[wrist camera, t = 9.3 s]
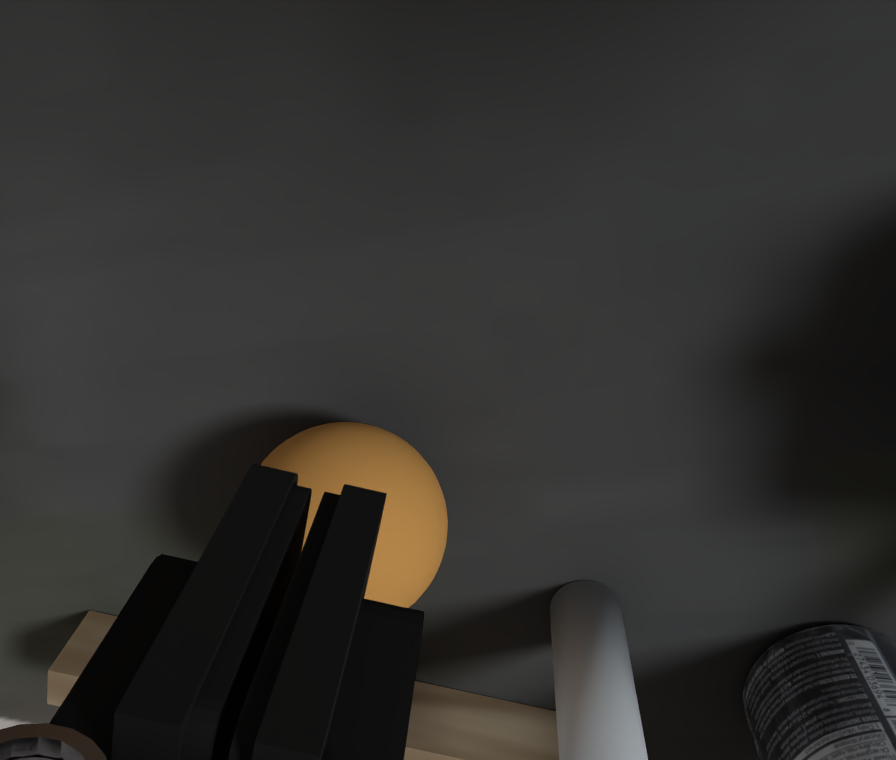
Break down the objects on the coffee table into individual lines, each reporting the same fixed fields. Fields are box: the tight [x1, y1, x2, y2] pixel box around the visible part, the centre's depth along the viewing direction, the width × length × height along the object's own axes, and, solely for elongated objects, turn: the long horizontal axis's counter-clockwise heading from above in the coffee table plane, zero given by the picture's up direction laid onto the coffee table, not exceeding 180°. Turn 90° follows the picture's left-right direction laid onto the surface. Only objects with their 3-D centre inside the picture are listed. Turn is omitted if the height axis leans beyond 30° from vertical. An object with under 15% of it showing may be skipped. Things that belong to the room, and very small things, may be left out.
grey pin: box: [550, 580, 648, 760], centre depth 25 cm, size 2×2×8 cm
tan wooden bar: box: [47, 610, 559, 760], centre depth 30 cm, size 2×18×3 cm, turn 77°
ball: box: [261, 422, 448, 608], centre depth 25 cm, size 6×6×6 cm
